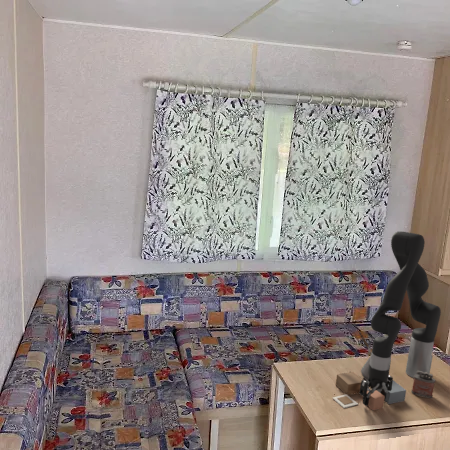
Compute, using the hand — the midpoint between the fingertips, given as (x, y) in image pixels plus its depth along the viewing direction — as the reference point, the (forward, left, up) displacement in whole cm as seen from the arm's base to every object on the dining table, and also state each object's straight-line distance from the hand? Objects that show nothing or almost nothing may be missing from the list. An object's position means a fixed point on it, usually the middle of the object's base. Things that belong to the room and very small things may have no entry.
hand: (373, 402), depth 190 cm
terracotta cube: (0, 0, -1) cm, 1 cm away
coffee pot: (-15, -20, -1) cm, 25 cm away
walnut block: (+1, -13, -1) cm, 13 cm away
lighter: (-25, +1, -1) cm, 25 cm away
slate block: (-11, -2, -1) cm, 11 cm away
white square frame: (+9, -6, -1) cm, 11 cm away
